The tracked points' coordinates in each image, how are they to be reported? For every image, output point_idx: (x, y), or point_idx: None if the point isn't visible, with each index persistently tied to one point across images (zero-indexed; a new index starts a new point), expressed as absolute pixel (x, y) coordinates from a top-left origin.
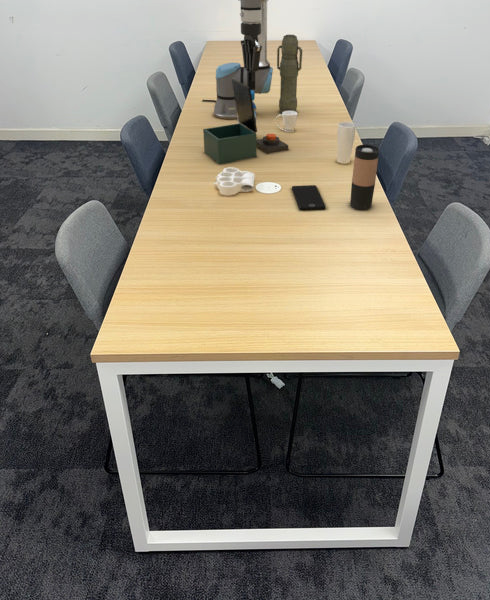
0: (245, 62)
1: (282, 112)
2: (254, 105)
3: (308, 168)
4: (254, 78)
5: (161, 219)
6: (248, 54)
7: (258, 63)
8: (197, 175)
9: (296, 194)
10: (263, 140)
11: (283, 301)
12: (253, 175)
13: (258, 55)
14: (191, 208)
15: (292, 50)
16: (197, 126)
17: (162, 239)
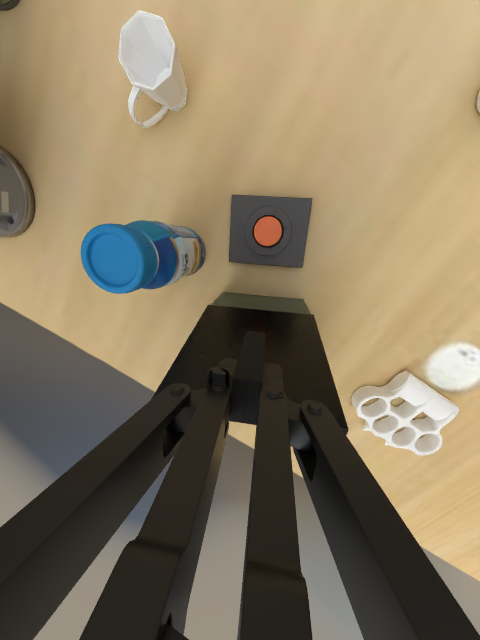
0: (170, 456)
1: (131, 81)
2: (161, 238)
3: (447, 229)
4: (282, 377)
5: (418, 528)
6: (196, 561)
7: (361, 468)
8: None
9: None
10: (264, 255)
11: None
12: (417, 381)
13: (437, 608)
14: (420, 491)
15: None
16: (65, 307)
17: (470, 549)
